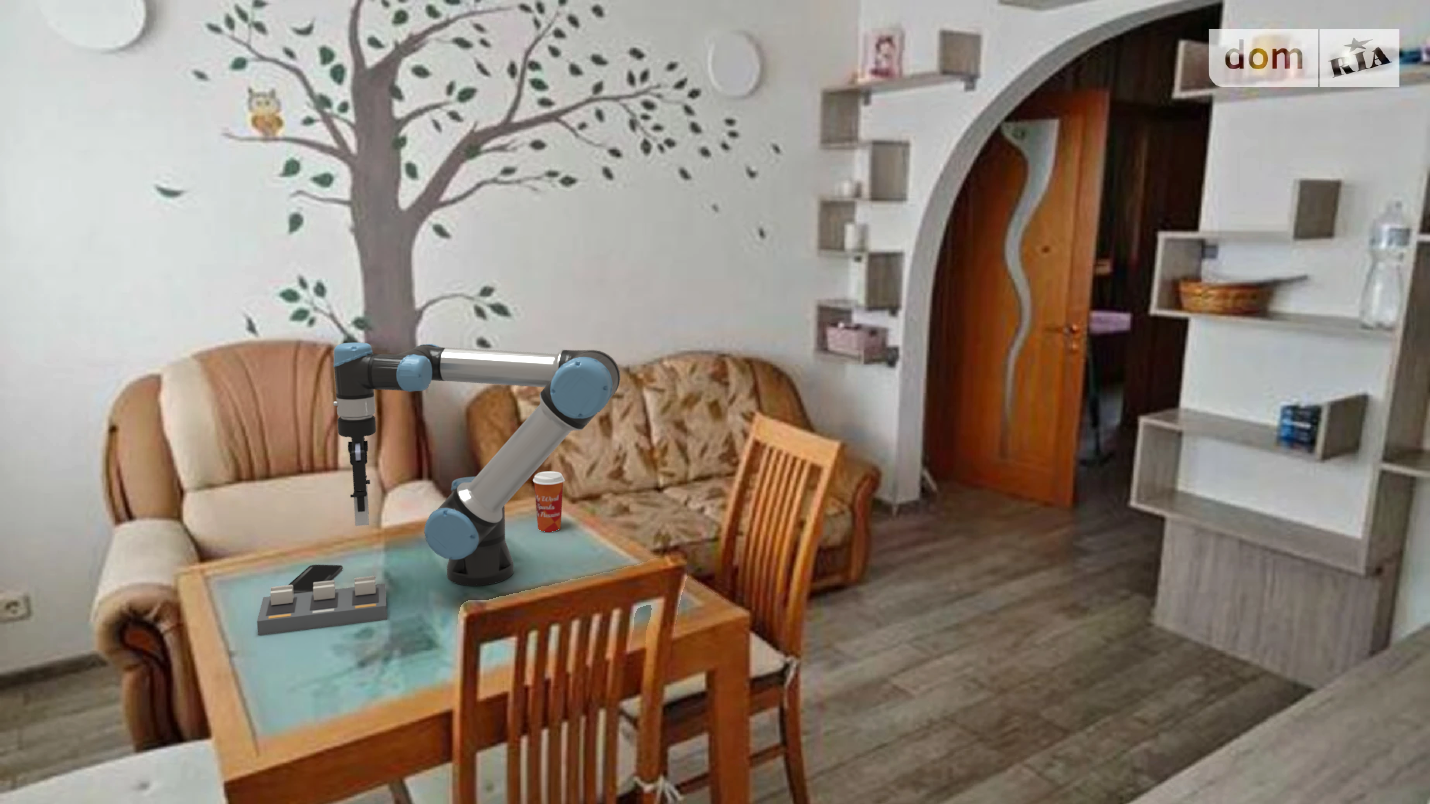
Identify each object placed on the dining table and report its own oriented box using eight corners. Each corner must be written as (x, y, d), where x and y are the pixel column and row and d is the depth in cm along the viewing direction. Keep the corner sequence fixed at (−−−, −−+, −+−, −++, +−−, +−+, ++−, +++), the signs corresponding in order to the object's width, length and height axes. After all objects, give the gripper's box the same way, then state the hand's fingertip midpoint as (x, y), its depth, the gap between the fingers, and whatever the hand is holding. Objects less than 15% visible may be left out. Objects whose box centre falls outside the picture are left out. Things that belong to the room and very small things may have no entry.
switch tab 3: (375, 587, 195) (374, 573, 194) (375, 593, 192) (374, 579, 192) (355, 590, 194) (354, 575, 193) (355, 595, 191) (354, 581, 190)
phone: (281, 590, 199) (311, 564, 213) (282, 595, 199) (311, 568, 214) (318, 591, 199) (344, 565, 214) (318, 595, 199) (345, 569, 214)
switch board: (385, 596, 199) (385, 583, 198) (387, 619, 188) (386, 605, 187) (264, 610, 190) (263, 596, 190) (258, 635, 179) (256, 620, 179)
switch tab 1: (293, 596, 189) (292, 582, 189) (292, 602, 187) (291, 588, 186) (272, 599, 188) (271, 584, 187) (271, 605, 185) (270, 590, 185)
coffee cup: (529, 532, 240) (528, 478, 237) (540, 522, 248) (539, 469, 245) (559, 535, 239) (558, 480, 236) (569, 524, 247) (569, 471, 244)
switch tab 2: (335, 592, 192) (334, 578, 192) (334, 597, 190) (333, 583, 189) (314, 594, 191) (313, 580, 190) (313, 600, 188) (312, 585, 187)
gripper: (338, 407, 200) (344, 507, 205) (335, 427, 182) (342, 536, 187) (374, 405, 203) (379, 504, 207) (375, 425, 185) (381, 532, 190)
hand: (362, 519), depth 197 cm, fingers open, 6 cm apart
